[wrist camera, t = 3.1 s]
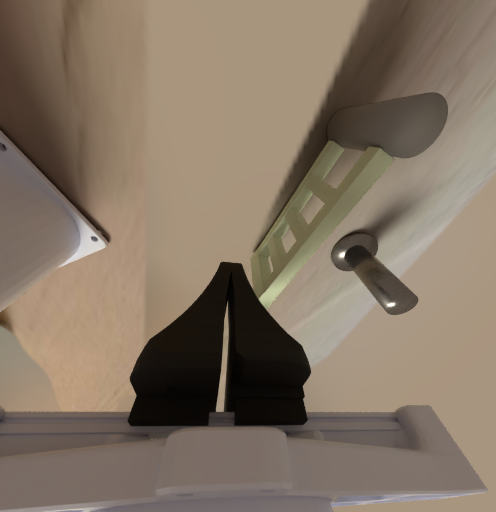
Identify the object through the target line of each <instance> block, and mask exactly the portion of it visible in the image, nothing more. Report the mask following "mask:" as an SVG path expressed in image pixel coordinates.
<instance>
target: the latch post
mask: <svg viewBox="0 0 496 512" xmlns="http://www.w3.org/2000/svg"><path fill="white" fill-rule="evenodd" d="M377 250H378V244H377V242H376V240H375V239H374V238H373V237H371V236H370V235H369V234H366V233H353V234H350V235H347V236H345V237H344V238H342V239H341V240H340V241H339V242H337V244H336V245H335V246H334V248H333V250H332V253H331V260H332V262H333V263H334V265H335V266H336V267H337V268H338V269H340V270H342V271H354V272H355V273H356V275H357V276H358V277H359V278H360V280H361V281H362V282H363V283H364V285H365V286H366V287H367V288H368V290H369V291H370V292H371V293H372V295H373V296H374V297H375V298H376V300H377V301H378V302H379V303H380V305H381V306H382V307H383V308H384V309H385V311H386V312H387V313H388V314H391V315H398V314H402V313H405V312H407V311H409V310H411V309H412V308H413V307H415V306H416V304H417V303H418V297H417V296H416V295H415V294H414V293H413V292H412V291H411V290H409V289H408V288H407V287H406V286H405V285H404V284H403V283H402V282H401V281H400V280H399V279H398V278H397V277H396V276H395V275H394V274H393V273H392V272H391V271H389V270H388V269H387V268H386V267H385V266H384V265H383V264H382V263H381V262H380V261H379V260H378V259H377V258H376V257H375V255H376V253H377Z"/></svg>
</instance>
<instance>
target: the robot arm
mask: <svg viewBox="0 0 496 512" xmlns="http://www.w3.org/2000/svg"><path fill="white" fill-rule="evenodd" d="M3 144H4V145H5V147H6V149H5V148H4V146H3ZM94 236H95V237H96V238H97V239H96V238H95V237H94ZM107 245H108V241H107V240H106V239H105V238H104V237H103V236H102V235H101V234H100V233H99V232H98V230H97V229H96V228H95V227H94V226H93V225H92V224H91V223H90V222H89V221H88V220H87V219H86V218H85V217H84V216H83V215H82V214H81V213H80V212H79V211H78V210H77V209H76V208H75V207H74V206H73V205H72V204H71V203H70V202H69V201H68V200H67V199H66V197H65V196H64V195H63V194H62V193H61V192H60V191H59V190H58V189H57V188H56V187H55V186H54V185H53V184H52V183H51V182H50V181H49V180H48V179H47V178H46V177H45V176H44V175H43V174H42V173H41V172H40V171H39V170H38V169H37V168H36V167H35V165H34V164H33V163H32V162H31V161H30V160H29V159H28V158H27V157H26V156H25V155H24V154H23V153H22V152H21V151H20V150H19V149H18V148H17V147H16V146H15V145H14V144H13V143H12V142H11V141H10V140H9V139H8V138H7V137H6V136H5V135H4V133H3V132H2V131H1V130H0V312H1V311H2V310H4V309H5V308H6V307H7V306H9V305H10V304H11V303H13V302H14V301H15V300H16V299H18V298H19V297H20V296H22V295H23V294H24V293H26V292H27V291H28V290H29V289H31V288H32V287H33V286H35V285H36V284H37V283H38V282H40V281H41V280H42V279H44V278H45V277H46V276H47V275H49V274H50V273H51V272H53V271H54V270H55V269H57V268H59V267H61V266H63V265H66V264H68V263H71V262H73V261H75V260H78V259H80V258H82V257H85V256H87V255H89V254H92V253H94V252H96V251H99V250H101V249H103V248H105V247H106V246H107ZM227 301H228V323H229V340H228V357H227V372H226V387H225V401H224V412H216V404H217V397H218V389H219V381H220V374H221V364H222V349H223V332H224V318H225V313H226V307H227ZM310 374H311V369H310V365H309V362H308V359H307V357H306V354H305V352H304V350H303V347H302V345H300V344H299V343H298V342H297V341H296V340H295V339H294V338H292V337H291V336H290V335H289V334H288V333H287V332H286V331H285V330H284V329H283V328H282V327H281V326H280V325H279V324H278V323H277V322H276V321H275V320H274V319H273V317H272V316H271V315H270V314H269V313H268V311H267V310H266V309H265V308H264V306H263V305H262V303H261V302H260V300H259V299H258V297H257V296H256V294H255V292H254V291H253V289H252V287H251V285H250V283H249V281H248V279H247V277H246V274H245V272H244V269H243V266H242V264H241V263H230V262H221V263H220V265H219V268H218V270H217V272H216V274H215V275H214V277H213V279H212V280H211V282H210V283H209V285H208V286H207V287H206V289H205V290H204V291H203V293H202V294H201V295H200V296H199V298H198V299H197V300H196V301H195V302H194V303H193V304H192V305H191V306H190V307H189V308H188V309H187V310H186V311H185V312H184V313H183V314H182V315H181V316H179V317H178V318H177V319H176V320H175V321H174V322H172V323H171V324H170V325H169V326H167V327H166V328H165V329H163V330H162V331H161V332H159V333H158V334H156V335H155V336H154V337H152V338H151V339H150V340H149V341H148V343H147V344H146V346H145V347H144V349H143V351H142V352H141V354H140V356H139V357H138V359H137V362H136V364H135V366H134V369H133V371H132V373H131V376H130V382H131V384H132V386H133V388H134V391H135V393H136V395H137V396H136V399H135V402H134V404H133V407H132V410H131V412H5V410H4V409H3V408H2V407H1V406H0V512H333V511H332V507H335V506H348V505H361V504H373V503H388V502H401V501H416V500H432V499H443V498H450V497H457V496H465V495H471V494H478V493H486V492H487V490H488V489H487V488H486V486H485V485H484V483H483V482H482V480H481V479H480V477H479V476H478V474H477V473H476V472H475V470H474V469H473V467H472V466H471V464H470V463H469V461H468V460H467V458H466V457H465V456H464V454H463V453H462V451H461V450H460V449H459V447H458V445H457V444H456V442H455V441H454V440H453V438H452V437H451V435H450V434H449V433H448V431H447V429H446V428H445V427H444V425H443V424H442V422H441V421H440V419H439V418H438V416H437V415H436V413H435V412H434V410H433V409H432V407H430V406H428V405H408V406H403V407H400V408H398V409H397V410H396V411H395V412H306V410H305V406H304V401H303V398H304V397H305V396H304V391H303V385H304V383H305V382H306V381H307V379H308V378H309V376H310Z"/></svg>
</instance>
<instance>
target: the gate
mask: <svg viewBox="0 0 496 512" xmlns="http://www.w3.org/2000/svg"><path fill="white" fill-rule="evenodd" d="M447 115H448V106H447V102H446V100H445V98H444V97H443V96H442V95H440V94H438V93H425V94H419V95H414V96H408V97H403V98H397V99H392V100H386V101H381V102H376V103H370V104H365V105H359V106H354V107H348V108H344V109H341V110H339V111H338V112H336V113H335V114H334V115H333V117H332V118H331V120H330V122H329V124H328V128H327V137H328V140H329V141H328V143H327V144H326V146H325V147H324V149H323V150H322V152H321V153H320V155H319V156H318V158H317V159H316V161H315V162H314V164H313V165H312V167H311V168H310V170H309V171H308V173H307V175H306V176H305V178H304V179H303V181H302V182H301V184H300V185H299V187H298V188H297V190H296V191H295V193H294V194H293V196H292V197H291V199H290V200H289V202H288V203H287V205H286V207H285V208H284V210H283V211H282V213H281V214H280V216H279V217H278V219H277V220H276V222H275V223H274V225H273V226H272V228H271V229H270V231H269V232H268V234H267V236H266V237H265V239H264V240H263V242H262V243H261V245H260V246H259V248H258V249H257V250H256V251H255V253H254V254H253V256H252V257H251V270H252V281H253V291H254V292H255V294H256V296H257V297H258V299H259V300H260V302H261V303H262V305H263V306H264V308H268V307H269V306H270V305H271V304H272V303H273V301H274V300H275V299H276V298H277V296H278V295H279V293H280V292H281V291H282V290H283V289H284V288H285V286H286V285H287V284H288V283H289V282H290V281H291V279H292V278H293V277H294V276H295V275H296V274H297V273H298V271H299V270H300V269H301V268H302V267H303V266H304V264H305V263H306V262H307V261H308V260H309V259H310V257H311V256H312V255H313V254H314V253H315V252H316V250H317V249H318V248H319V247H320V246H321V245H322V243H323V242H324V241H325V240H326V239H327V238H328V236H329V235H330V234H331V233H332V232H333V231H334V230H335V228H336V227H337V226H338V225H339V224H340V223H341V221H342V220H343V219H344V218H345V217H346V216H347V214H348V213H349V212H350V211H351V210H352V209H353V207H354V206H355V205H356V204H357V203H358V202H359V200H360V199H361V198H362V197H363V196H364V195H365V194H366V192H367V191H368V190H369V189H370V188H371V187H372V185H373V184H374V183H375V182H376V181H377V180H378V178H379V177H380V176H381V175H382V174H383V173H384V171H385V170H386V169H387V168H388V167H389V166H390V164H391V163H392V162H393V161H394V160H395V159H393V158H392V157H391V156H393V157H399V158H410V157H414V156H416V155H418V154H420V153H422V152H423V151H425V150H426V149H427V148H428V147H429V146H430V145H431V144H432V143H433V142H434V141H435V140H436V139H437V137H438V136H439V135H440V133H441V131H442V129H443V127H444V125H445V123H446V119H447ZM342 147H345V148H350V149H356V150H361V151H365V152H364V154H363V155H362V156H361V158H360V159H359V160H358V162H357V163H356V164H355V165H354V167H353V168H352V169H351V171H350V172H349V173H348V175H347V176H346V177H345V178H344V180H343V181H342V182H341V184H340V185H339V186H338V188H337V189H334V188H333V187H331V186H330V185H328V184H326V183H325V182H323V179H324V178H325V176H326V175H327V174H328V172H329V171H330V169H331V168H332V167H333V165H334V164H335V162H336V161H337V160H338V158H339V157H340V155H341V154H342V153H343V151H344V150H345V149H344V148H342ZM313 193H314V194H315V195H316V196H317V197H318V198H320V199H321V200H322V201H323V202H324V203H325V205H324V206H323V207H322V208H321V210H320V211H319V212H318V214H317V215H316V216H315V218H314V219H313V220H312V221H311V223H310V224H309V225H308V224H307V222H306V221H305V219H304V218H303V217H302V215H301V214H300V212H301V210H302V209H303V207H304V206H305V205H306V203H307V202H308V200H309V199H310V198H311V196H312V195H313ZM289 227H290V229H291V231H292V233H293V235H294V237H295V238H296V240H297V241H296V242H295V244H294V245H293V246H292V248H291V249H290V250H289V251H288V253H287V254H286V252H285V249H284V247H283V244H282V241H281V238H282V237H283V236H284V234H285V233H286V231H287V230H288V229H289ZM269 255H270V257H271V261H272V266H273V270H274V271H273V272H272V274H271V270H270V265H269V261H268V257H269Z"/></svg>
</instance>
